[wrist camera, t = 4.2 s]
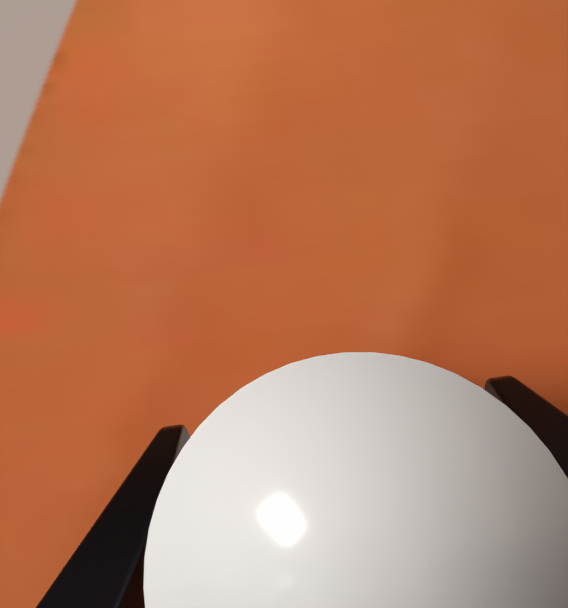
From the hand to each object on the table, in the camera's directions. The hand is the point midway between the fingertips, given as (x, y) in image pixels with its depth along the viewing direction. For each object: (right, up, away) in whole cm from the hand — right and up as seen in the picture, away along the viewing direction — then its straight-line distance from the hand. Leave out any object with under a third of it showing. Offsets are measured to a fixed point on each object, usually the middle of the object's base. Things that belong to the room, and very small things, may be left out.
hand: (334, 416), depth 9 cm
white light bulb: (+1, -2, +6) cm, 7 cm away
